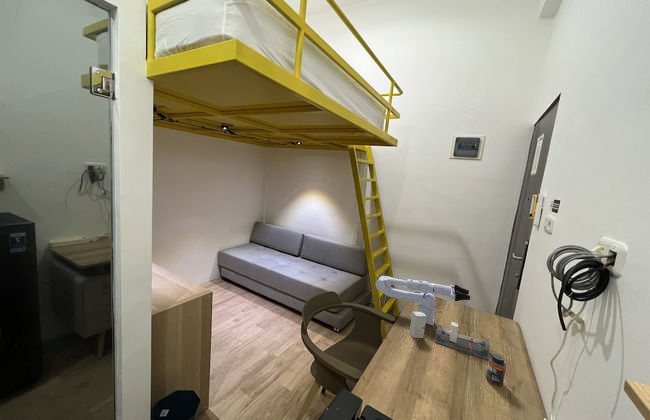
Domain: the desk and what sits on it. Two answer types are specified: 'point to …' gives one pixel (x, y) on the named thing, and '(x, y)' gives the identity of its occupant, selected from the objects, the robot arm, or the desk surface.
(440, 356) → the desk surface
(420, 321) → the skincare box
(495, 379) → the supplement bottle
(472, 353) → the pipe rig
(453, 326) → the collar
